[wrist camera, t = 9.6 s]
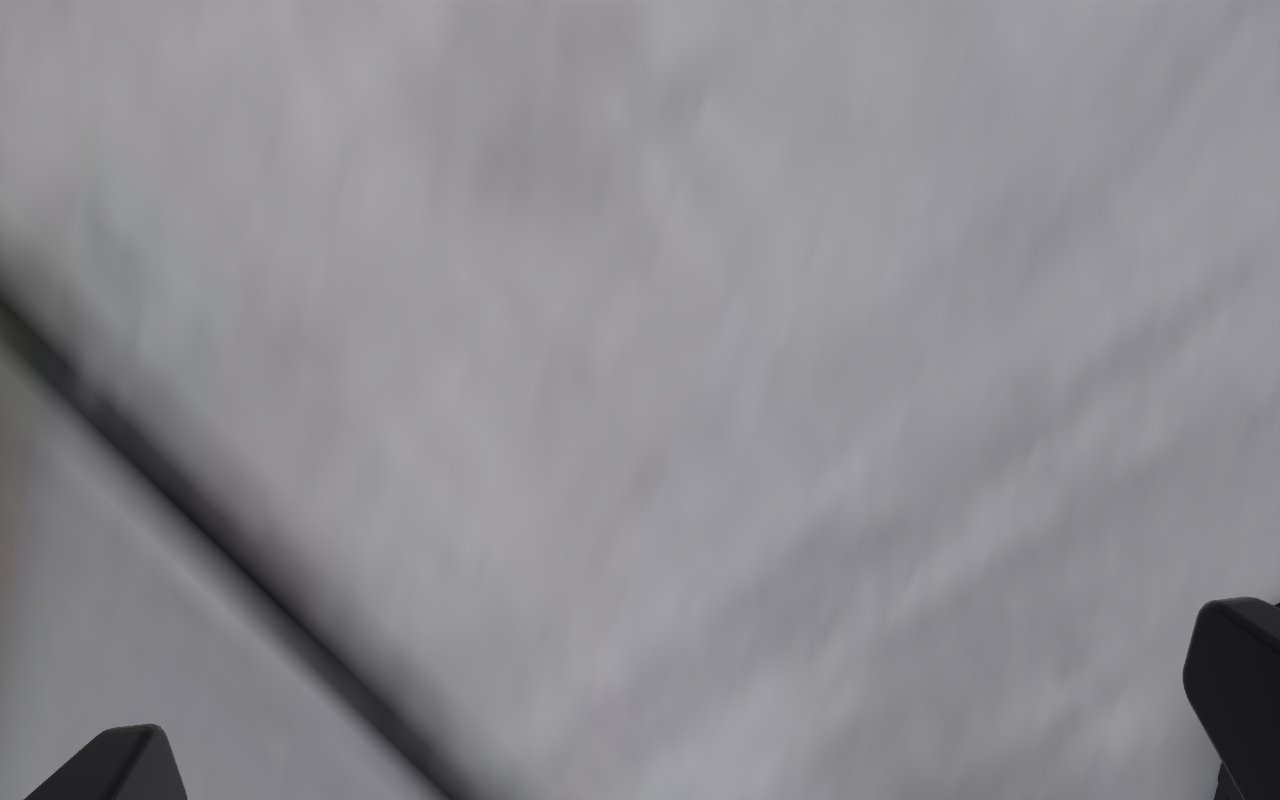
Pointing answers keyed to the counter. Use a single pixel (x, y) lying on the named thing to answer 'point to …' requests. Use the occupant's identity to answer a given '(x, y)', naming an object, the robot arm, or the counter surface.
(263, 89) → the counter surface
